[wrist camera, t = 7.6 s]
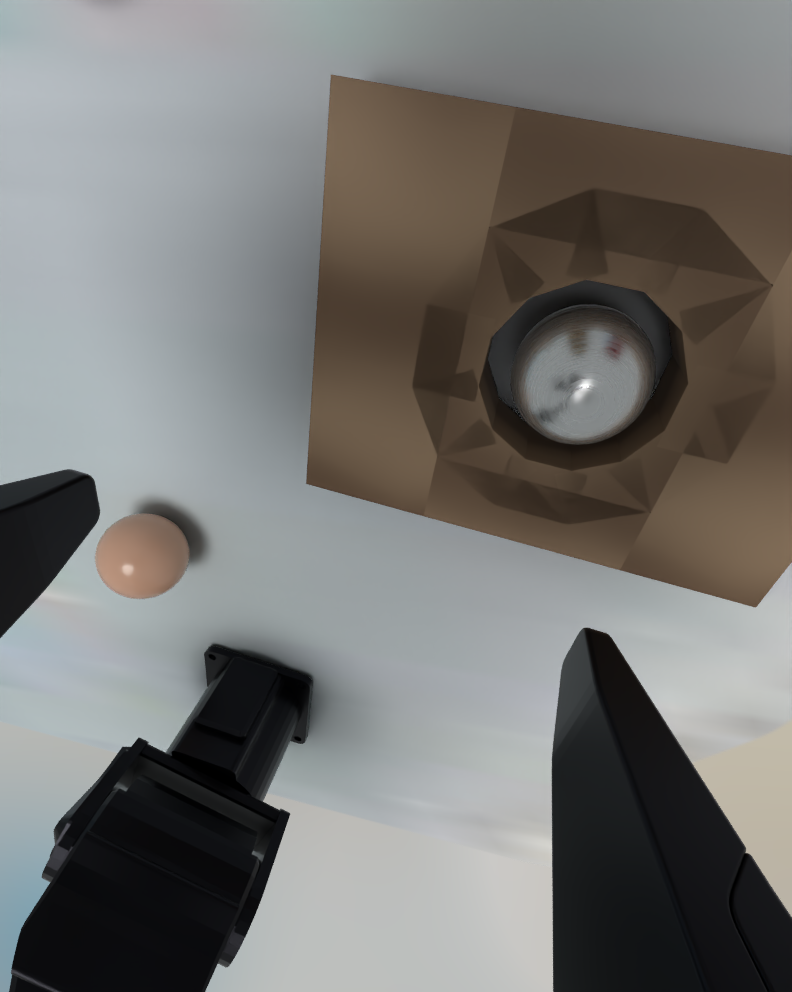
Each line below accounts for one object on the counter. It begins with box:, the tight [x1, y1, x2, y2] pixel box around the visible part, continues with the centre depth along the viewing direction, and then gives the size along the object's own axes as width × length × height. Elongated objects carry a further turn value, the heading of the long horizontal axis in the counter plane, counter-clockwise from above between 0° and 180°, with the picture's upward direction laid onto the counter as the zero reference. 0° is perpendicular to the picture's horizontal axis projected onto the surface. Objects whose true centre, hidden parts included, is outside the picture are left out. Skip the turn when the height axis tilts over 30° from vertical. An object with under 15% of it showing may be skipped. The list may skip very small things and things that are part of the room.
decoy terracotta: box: [95, 514, 189, 599], centre depth 25 cm, size 4×4×4 cm
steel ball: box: [511, 304, 656, 445], centre depth 16 cm, size 4×4×4 cm
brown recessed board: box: [306, 75, 792, 607], centre depth 16 cm, size 12×16×2 cm
